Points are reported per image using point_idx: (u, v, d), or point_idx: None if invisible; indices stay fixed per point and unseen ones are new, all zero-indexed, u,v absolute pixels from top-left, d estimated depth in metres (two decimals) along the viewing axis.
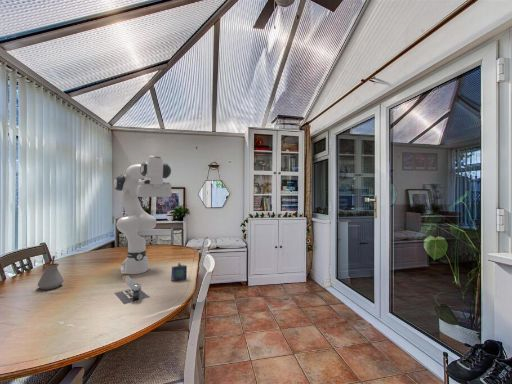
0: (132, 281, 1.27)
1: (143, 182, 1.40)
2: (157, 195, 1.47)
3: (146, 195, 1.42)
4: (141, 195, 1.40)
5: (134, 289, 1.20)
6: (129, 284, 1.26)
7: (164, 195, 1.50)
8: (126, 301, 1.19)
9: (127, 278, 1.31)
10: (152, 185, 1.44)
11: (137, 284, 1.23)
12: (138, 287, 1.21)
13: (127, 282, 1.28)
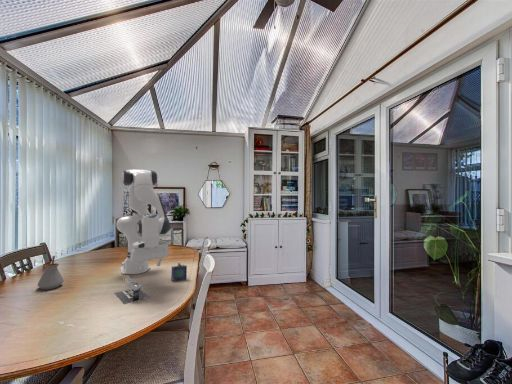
0: (132, 281, 1.27)
1: (137, 246, 1.28)
2: (153, 257, 1.34)
3: (140, 260, 1.30)
4: (135, 261, 1.28)
5: (134, 289, 1.20)
6: (129, 284, 1.26)
7: (160, 256, 1.37)
8: (126, 301, 1.19)
9: (127, 278, 1.31)
10: (147, 248, 1.32)
11: (137, 284, 1.23)
12: (138, 287, 1.21)
13: (127, 282, 1.28)
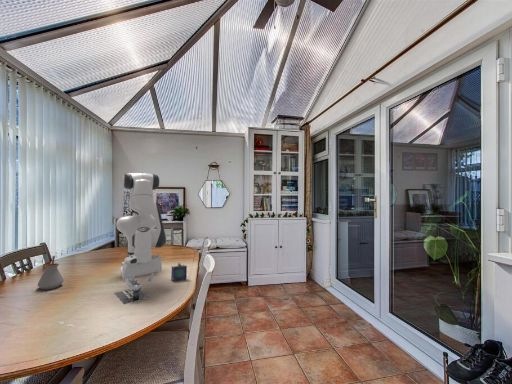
0: (132, 281, 1.27)
1: (129, 262, 1.25)
2: (145, 272, 1.32)
3: (133, 275, 1.27)
4: (127, 276, 1.25)
5: (134, 289, 1.20)
6: (129, 284, 1.26)
7: (153, 270, 1.35)
8: (126, 301, 1.19)
9: (127, 278, 1.31)
10: (139, 263, 1.29)
11: (137, 284, 1.23)
12: (138, 287, 1.21)
13: (127, 282, 1.28)
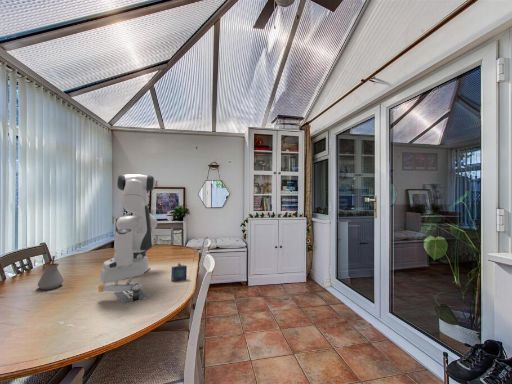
0: (123, 285, 1.22)
1: (108, 266, 1.18)
2: (126, 276, 1.25)
3: (112, 280, 1.20)
4: (106, 281, 1.18)
5: (138, 288, 1.21)
6: (121, 288, 1.20)
7: (135, 274, 1.28)
8: (126, 301, 1.19)
9: (108, 285, 1.21)
10: (120, 266, 1.22)
11: (136, 284, 1.22)
12: (140, 286, 1.22)
13: (114, 288, 1.20)
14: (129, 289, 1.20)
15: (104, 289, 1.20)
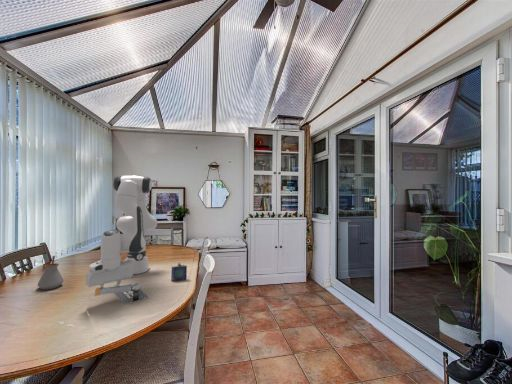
0: (121, 286, 1.20)
1: (93, 269, 1.13)
2: (113, 280, 1.21)
3: (98, 283, 1.16)
4: (91, 285, 1.14)
5: (139, 288, 1.21)
6: (120, 290, 1.18)
7: (123, 277, 1.24)
8: (126, 301, 1.19)
9: (106, 288, 1.17)
10: (106, 269, 1.18)
11: (135, 284, 1.22)
12: (140, 285, 1.23)
13: (113, 290, 1.17)
14: (129, 290, 1.20)
15: (101, 292, 1.16)
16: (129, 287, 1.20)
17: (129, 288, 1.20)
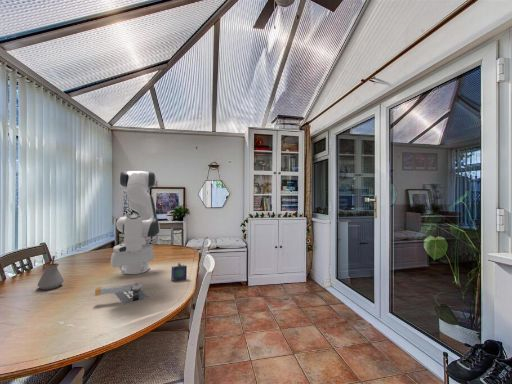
0: (121, 286, 1.20)
1: (118, 250, 1.18)
2: (136, 262, 1.25)
3: (122, 264, 1.21)
4: (115, 265, 1.19)
5: (139, 288, 1.21)
6: (120, 290, 1.18)
7: (144, 260, 1.28)
8: (126, 301, 1.19)
9: (106, 288, 1.17)
10: (129, 251, 1.23)
11: (135, 284, 1.22)
12: (140, 285, 1.23)
13: (113, 290, 1.17)
14: (129, 290, 1.20)
15: (101, 292, 1.16)
16: (129, 287, 1.20)
17: (129, 288, 1.20)
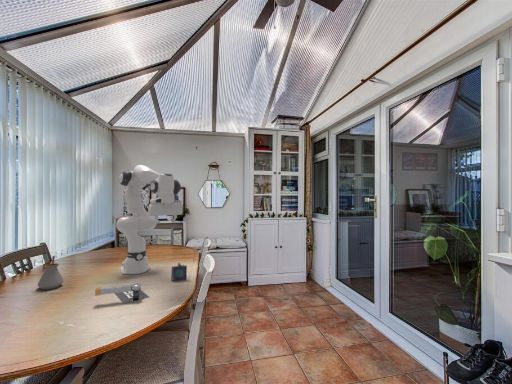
0: (121, 286, 1.20)
1: (155, 201, 1.37)
2: (168, 213, 1.44)
3: (157, 214, 1.40)
4: (152, 214, 1.38)
5: (139, 288, 1.21)
6: (120, 290, 1.18)
7: (175, 213, 1.47)
8: (126, 301, 1.19)
9: (106, 288, 1.17)
10: (163, 203, 1.42)
11: (135, 284, 1.22)
12: (140, 285, 1.23)
13: (113, 290, 1.17)
14: (129, 290, 1.20)
15: (101, 292, 1.16)
16: (129, 287, 1.20)
17: (129, 288, 1.20)
